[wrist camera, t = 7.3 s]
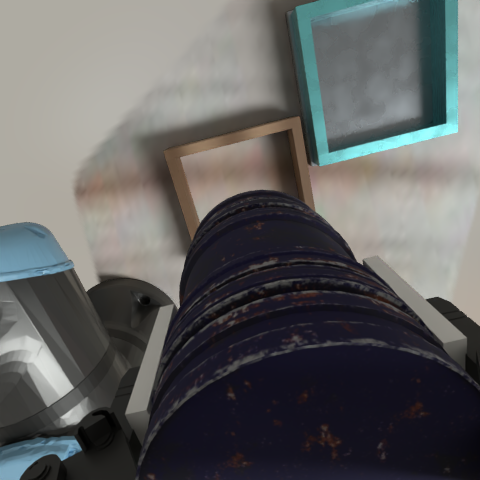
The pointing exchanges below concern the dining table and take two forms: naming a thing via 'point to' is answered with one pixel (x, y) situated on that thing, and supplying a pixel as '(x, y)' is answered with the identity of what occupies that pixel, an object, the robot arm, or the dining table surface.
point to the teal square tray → (374, 74)
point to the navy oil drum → (300, 363)
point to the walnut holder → (287, 124)
